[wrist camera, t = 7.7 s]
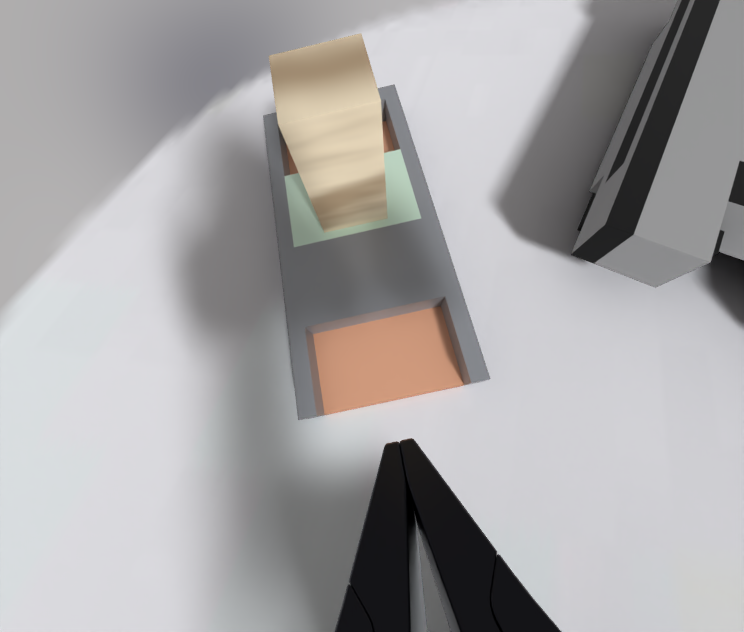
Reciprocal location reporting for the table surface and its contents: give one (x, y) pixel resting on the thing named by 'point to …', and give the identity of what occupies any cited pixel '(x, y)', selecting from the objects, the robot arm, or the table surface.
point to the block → (333, 129)
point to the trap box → (370, 287)
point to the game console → (675, 154)
